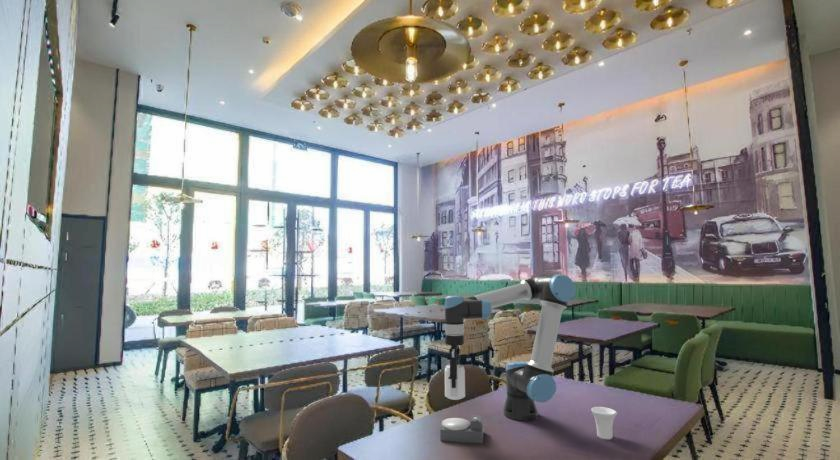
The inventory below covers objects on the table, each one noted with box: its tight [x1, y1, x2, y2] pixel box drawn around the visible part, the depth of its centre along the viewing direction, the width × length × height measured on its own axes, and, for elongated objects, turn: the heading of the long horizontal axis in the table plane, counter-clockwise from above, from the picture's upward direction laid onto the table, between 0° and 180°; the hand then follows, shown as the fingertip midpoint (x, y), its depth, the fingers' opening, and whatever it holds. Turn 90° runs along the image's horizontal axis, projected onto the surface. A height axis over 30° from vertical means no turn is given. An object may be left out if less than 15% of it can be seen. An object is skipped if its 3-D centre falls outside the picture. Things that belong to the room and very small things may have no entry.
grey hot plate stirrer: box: [439, 414, 484, 444], centre depth 155 cm, size 16×11×8 cm
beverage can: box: [444, 364, 466, 401], centre depth 157 cm, size 8×8×12 cm
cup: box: [591, 406, 618, 440], centre depth 153 cm, size 9×9×10 cm
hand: (455, 392), depth 156 cm, fingers closed on beverage can, 8 cm apart
